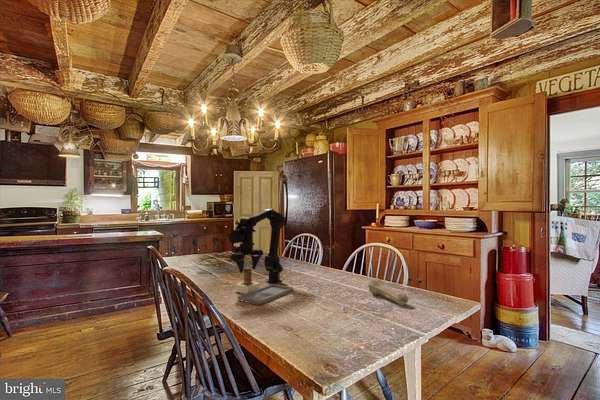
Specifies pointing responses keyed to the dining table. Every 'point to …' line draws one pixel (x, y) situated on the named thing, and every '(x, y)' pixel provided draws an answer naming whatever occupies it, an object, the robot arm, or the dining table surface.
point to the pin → (247, 276)
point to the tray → (265, 294)
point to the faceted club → (386, 291)
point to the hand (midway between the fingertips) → (247, 271)
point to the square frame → (246, 287)
